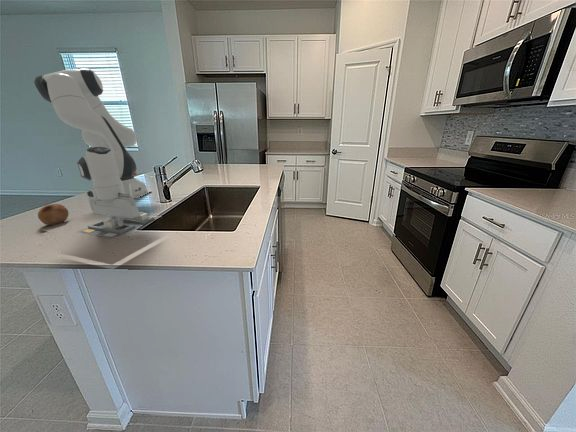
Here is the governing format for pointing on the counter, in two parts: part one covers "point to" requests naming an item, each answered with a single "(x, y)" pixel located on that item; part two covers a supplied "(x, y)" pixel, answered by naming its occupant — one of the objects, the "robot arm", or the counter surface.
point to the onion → (53, 214)
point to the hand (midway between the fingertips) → (119, 225)
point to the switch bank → (128, 225)
